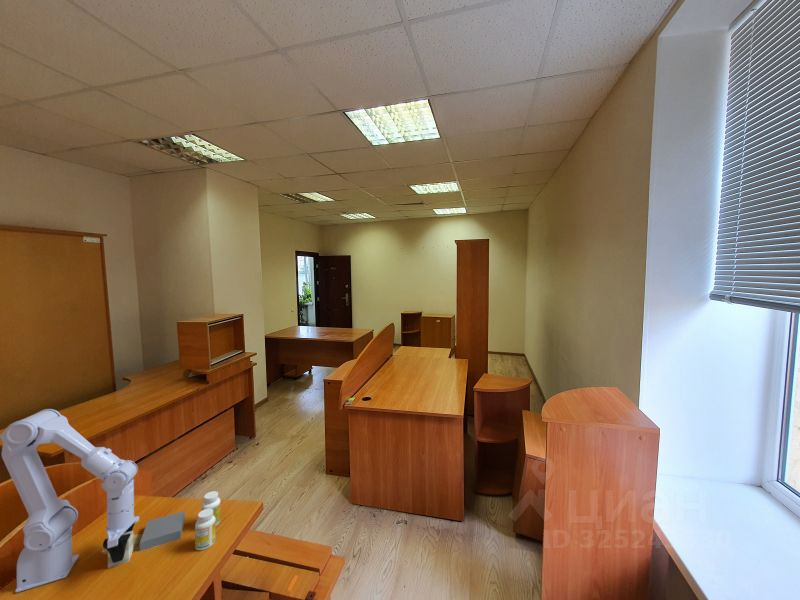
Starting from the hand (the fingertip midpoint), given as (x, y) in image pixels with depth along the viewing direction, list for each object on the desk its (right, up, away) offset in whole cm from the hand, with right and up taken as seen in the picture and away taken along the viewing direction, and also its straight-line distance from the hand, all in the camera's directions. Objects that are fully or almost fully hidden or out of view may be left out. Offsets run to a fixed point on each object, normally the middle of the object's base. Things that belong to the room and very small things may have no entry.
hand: (121, 554), depth 89 cm
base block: (+5, -2, +10) cm, 11 cm away
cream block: (0, -1, 0) cm, 1 cm away
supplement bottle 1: (+17, -2, +14) cm, 22 cm away
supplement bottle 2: (+21, -2, +6) cm, 22 cm away
